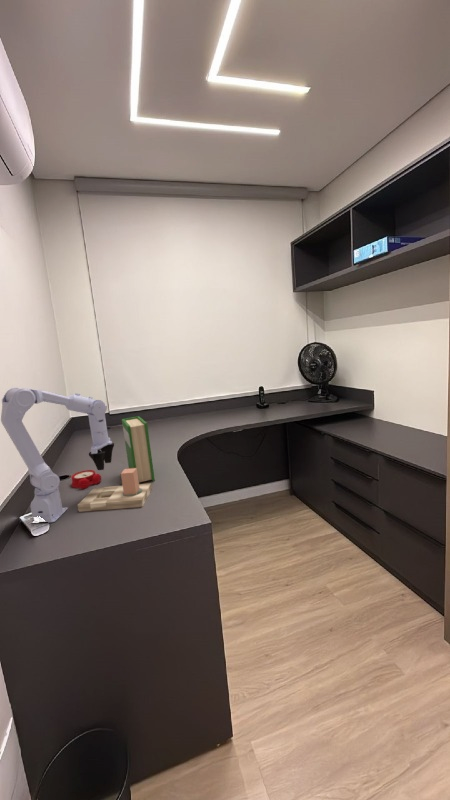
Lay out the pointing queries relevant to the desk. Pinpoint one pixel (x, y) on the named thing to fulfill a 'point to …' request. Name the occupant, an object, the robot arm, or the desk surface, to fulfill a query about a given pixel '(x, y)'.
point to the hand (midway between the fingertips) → (104, 466)
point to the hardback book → (138, 447)
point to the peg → (130, 481)
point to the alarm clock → (85, 479)
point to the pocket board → (114, 498)
